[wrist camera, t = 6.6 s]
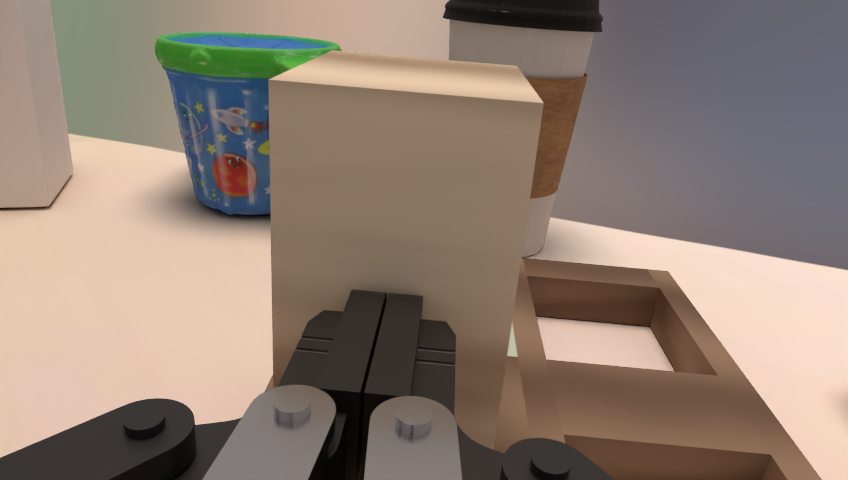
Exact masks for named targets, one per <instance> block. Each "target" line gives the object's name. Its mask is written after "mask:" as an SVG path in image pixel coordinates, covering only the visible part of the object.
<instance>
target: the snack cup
mask: <svg viewBox="0 0 848 480" xmlns="http://www.w3.org/2000/svg"><path fill="white" fill-rule="evenodd" d="M332 50H334V51H342V50H341V49H340V47H339V45H338V44H335V43H333V42H328V41H323V40H316V39H309V38H300V37H290V36H277V35H263V34H245V33H177V34H168V35H163V36H160V37H159V38H158V39H157V41H156V43H155V53H156V56H157V59H158V60H159V62H160V63H161V65H162V67H163V69H164V70H165V71H166V73H167V75H168V79H169V81H170V85H171V90H172V94H173V99H174V105H175V110H176V114H177V117H178V121H179V128H180V132H181V137H182V139H183V143H184V147H185V153H186V158H187V162H188V166H189V170H190V174H191V178H192V181H193V186H194V191H195V194H196V198H197V199H198V200H200V201H201V203H203V204H204V205H206V206H208V207H210V208H214V209H218V210H221V211H222V212H225V213H227V214H229V215H233V214H242V215H261V214H271V205H270V145H269V85H268V79H271V78H273V77H275V76H277V75H279V74H282V73H284V72H286V71H288V70H290V69H293V68H295V67H297V66H299V65H301V64H303V63H306V62H308V61H310V60H312V59H314V58H317V57H319V56H321V55H323V54H325V53H327V52H330V51H332Z"/></svg>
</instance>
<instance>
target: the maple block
mask: <svg viewBox="0 0 848 480" xmlns="http://www.w3.org/2000/svg"><path fill="white" fill-rule="evenodd" d="M268 85H269V145H270V205H271V265H272V325H273V385H274V388H276V387H278V385H279V383H280V380H281V378H282V376H283V374H284V372H285V370H286V368H287V365H288V363H289V361H290V359H291V357H292V355H293V353H294V350H295V351H296V346H297V344H298V342H299V340H300V339H301V336H302V333H303V331H304V329H305V327H306V325H307V323H308V321H309V320H311V319H312V318H313V317H315V316H316V315H318V314H319V313H320V312H322V311H323V310H331V311H341V312H343V311H344V308H345V306H346V303H347V300H348V298H349V295H350V292H351V290H352V289H355V290H365V291H376V292H386V293H387V298H388V294H389V293H398V294H408V295H419V296H423V308H422V319H426V320H436V321H446V322H447V323H448V325H449V326H450V328H451V329H452V330H453V332H454V333H455V335H456V361H455V407H454V413H455V419H456V422H457V424H458V426H459V427H460V429H461V430H462V431H463V432H464V433H465V434H466V435H467V436H468V437H469V438H471V439H472V440H474V441H475V442H477V443H479V444H481V445H483V446H485V447H488V448H490V449H494V442H495V436H496V429H497V422H498V415H499V408H500V401H501V394H502V387H503V381H504V374H505V367H506V360H507V353H508V346H509V339H510V332H511V326H512V319H513V312H514V305H515V298H516V291H517V284H518V277H519V271H520V264H521V257H522V250H523V243H524V236H525V229H526V222H527V216H528V209H529V202H530V195H531V188H532V181H533V174H534V167H535V161H536V154H537V147H538V140H539V133H540V126H541V119H542V112H543V105H544V103H543V101H542V100H541V98H540V97H539V96H538V94H537V93H536V92H535V90H534V89H533V87H532V86H531V85H530V83H529V82H528V80H527V79H526V78H525V76H524V75H523V73H522V72H521V71H520V69H519V68H518V66H512V65H500V64H488V63H477V62H465V61H453V60H440V59H429V58H417V57H405V56H394V55H382V54H370V53H358V52H345V51H334V50H332V51H330V52H327V53H325V54H323V55H321V56H319V57H317V58H314V59H312V60H310V61H308V62H306V63H303V64H301V65H299V66H297V67H295V68H293V69H290V70H288V71H286V72H284V73H282V74H279V75H277V76H275V77H273V78H271V79H268Z"/></svg>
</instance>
